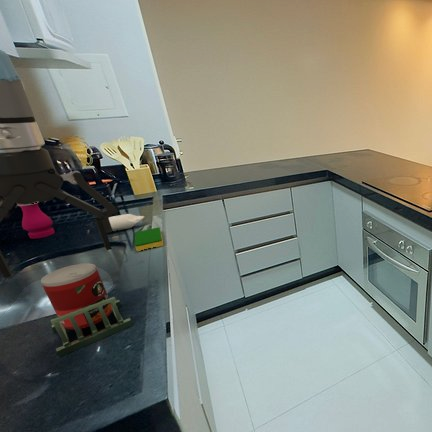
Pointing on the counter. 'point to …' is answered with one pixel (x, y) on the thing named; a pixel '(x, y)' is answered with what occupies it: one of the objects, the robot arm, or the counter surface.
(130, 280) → the counter surface
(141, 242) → the dish sponge
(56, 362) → the counter surface
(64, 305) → the canned food
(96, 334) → the drying rack
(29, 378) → the counter surface
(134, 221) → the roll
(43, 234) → the pepper mill
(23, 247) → the counter surface
